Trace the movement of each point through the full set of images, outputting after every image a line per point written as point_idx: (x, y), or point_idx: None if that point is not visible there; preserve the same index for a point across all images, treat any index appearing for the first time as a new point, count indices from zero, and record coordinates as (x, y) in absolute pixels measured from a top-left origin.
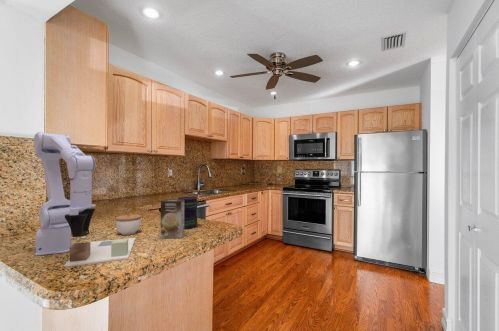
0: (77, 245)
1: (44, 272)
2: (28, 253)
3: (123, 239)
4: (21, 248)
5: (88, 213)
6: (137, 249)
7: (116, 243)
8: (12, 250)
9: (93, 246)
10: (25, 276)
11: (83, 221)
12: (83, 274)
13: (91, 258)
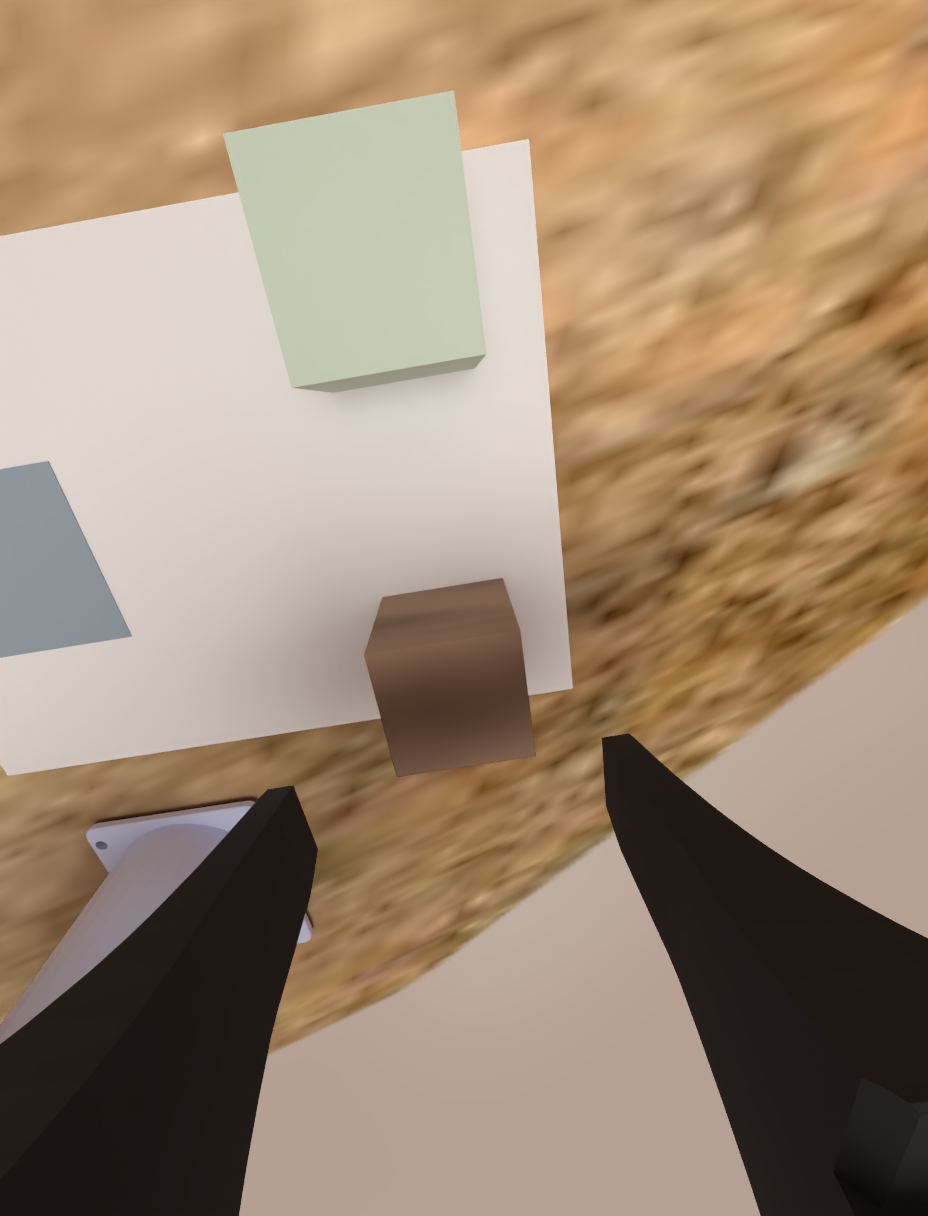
0: (478, 722)
1: None
2: None
3: (290, 213)
4: None
5: (125, 1148)
6: (170, 118)
7: (475, 278)
8: None
9: (129, 673)
10: None
11: (846, 904)
12: (776, 477)
13: (473, 551)
